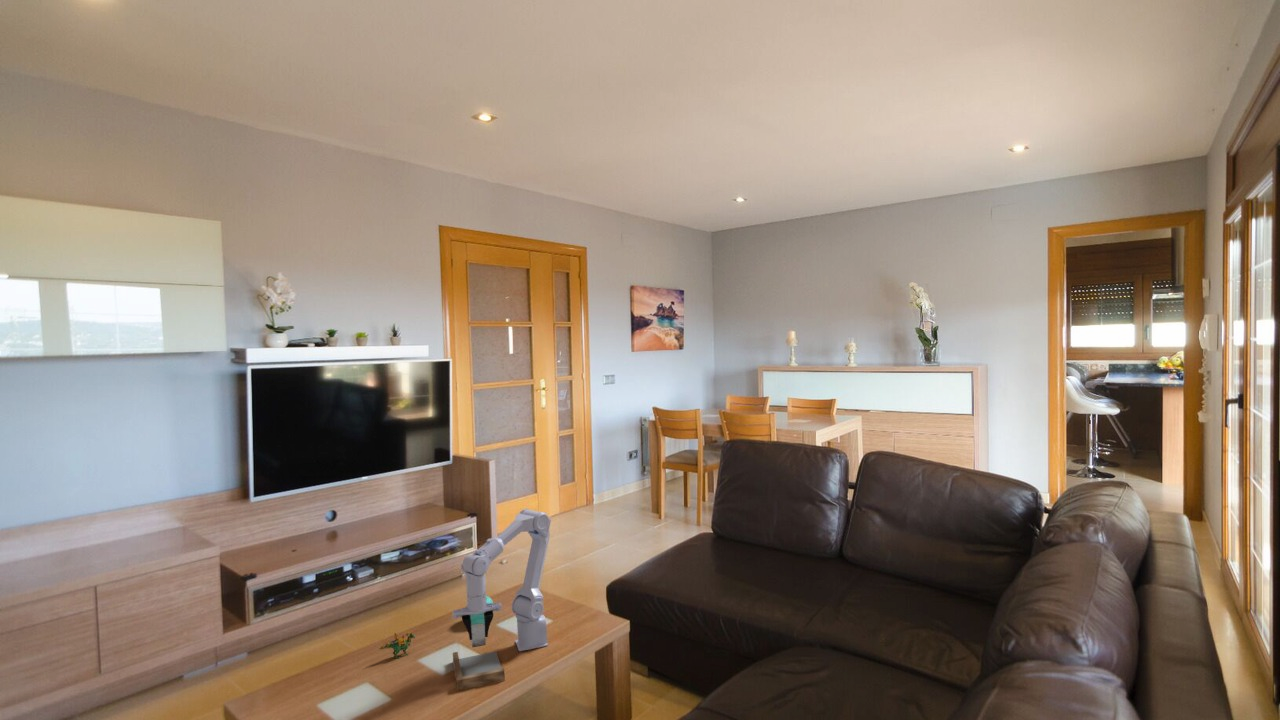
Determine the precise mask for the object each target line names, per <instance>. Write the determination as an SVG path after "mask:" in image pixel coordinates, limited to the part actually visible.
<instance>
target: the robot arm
mask: <svg viewBox="0 0 1280 720" xmlns="http://www.w3.org/2000/svg"><path fill="white" fill-rule="evenodd" d="M551 521H552V519H551V518H550V516H549V515H548V514H547V513H546V512H545V511H537V510H532V509H529V508H524V509H521V511H520V512H519V513H517V514H515V519H514V520H513V521H512V522H511V523H510V524H509V525H508V526H507V527H506V528H505V529H504V530H503V531H502V532H501V533H500V534H499V535H498V536H497V537H491V538H488V539H486V540H485V541H486V542H485V543H484V544H483V545H482V546H480V547H479V548H478V549H476V550H475V551H474V552H473V553H469V554H467V555H466V556H465V557H464V558H463V560H462V563H461V564H460V565H461V570H462V572H464V575H465V583H466V585H465V587H466V606H465V607H462V608H459V609H458V608H457V609H456V610H452V620H457V619H458V618H461V620H462V623H463V625H464V626H465V628H466V631H467V632H468V638H469V641H471V640H472V632H471V626H472V625H471V617H470V615H476V614H481V613H484V622H485V638H488V635H489V629H490V627H491V623H492V621H493V619H494V612H496V611H497V612H502V610H503V609H502V603H501V602H493V603H487V604H486V596H487V587H486V586H487V585H486V573H487V572H488V570H489V567H490V565H491V563H492V562H493V561H494V560H495V559H497V558H498V556H500V555H501V554H502V553H504V549H505V548H504V547H505V546H506V545H507V544H508V543H510V542H511V541H512V540H513V539H514V538H516V537H517V536H518V535H520V534H521V533H523V532H527V534H528V535H529V537H530V538H531V539H532V540H531V544H530V549H529V554H528V559H527V563H526V568H525V573H524V574H525V575H524V578H523V584H522V587H520V588H519V589H518V590H516V593H515V596H514V599H512V602H511V611H512V612H513V614H515V618H516V627H517V629H516V630H517V639H515V640H514V641H515V644H516V646H517V650H518V651H519V652H523V651H529V650H532V649H538V648H543V647H547V646H548V629H547V620H546V617H545V615H544V614H543V611H544V595H543V594H542V592H541V591H540V586H541V581H542V575H543V571H544V566H545V560H546V556H547V551H548V546H549V541H550V526H551Z"/></svg>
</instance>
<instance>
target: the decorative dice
mask: <svg viewBox="0 0 1280 720" xmlns="http://www.w3.org/2000/svg"><path fill="white" fill-rule="evenodd" d="M487 603H494V601H493V599H492V598H491V597H490V596H487V595H486V604H487ZM470 617H471V626H472V625H477V624H483V623H484V625H485V622H484V613H481V614H476V615H470Z"/></svg>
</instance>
